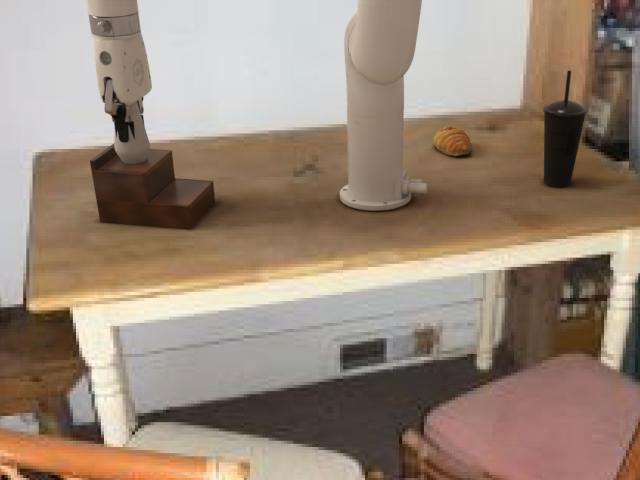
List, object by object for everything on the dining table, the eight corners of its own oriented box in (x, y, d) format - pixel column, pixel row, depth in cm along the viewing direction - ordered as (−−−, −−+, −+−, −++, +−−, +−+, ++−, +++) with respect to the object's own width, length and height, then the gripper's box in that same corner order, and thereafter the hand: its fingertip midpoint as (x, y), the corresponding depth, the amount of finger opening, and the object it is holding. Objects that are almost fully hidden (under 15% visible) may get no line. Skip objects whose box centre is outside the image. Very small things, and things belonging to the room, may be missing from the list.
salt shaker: (143, 167, 152) (132, 86, 145) (110, 164, 153) (97, 84, 146) (157, 155, 157) (147, 76, 150) (125, 153, 158) (113, 75, 151)
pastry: (479, 156, 183) (480, 137, 181) (447, 160, 181) (447, 141, 179) (460, 141, 190) (461, 123, 188) (429, 145, 188) (430, 127, 186)
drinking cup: (583, 179, 171) (596, 68, 161) (572, 192, 166) (586, 78, 155) (542, 173, 174) (553, 63, 164) (530, 186, 168) (541, 74, 158)
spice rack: (215, 202, 163) (209, 143, 157) (190, 229, 153) (183, 167, 147) (130, 196, 165) (121, 137, 160) (99, 222, 156) (89, 160, 150)
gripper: (114, 37, 136) (132, 159, 146) (159, 15, 150) (172, 128, 159) (67, 35, 137) (88, 156, 147) (115, 13, 151) (131, 126, 161)
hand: (131, 140), depth 153 cm, fingers closed on salt shaker, 3 cm apart
